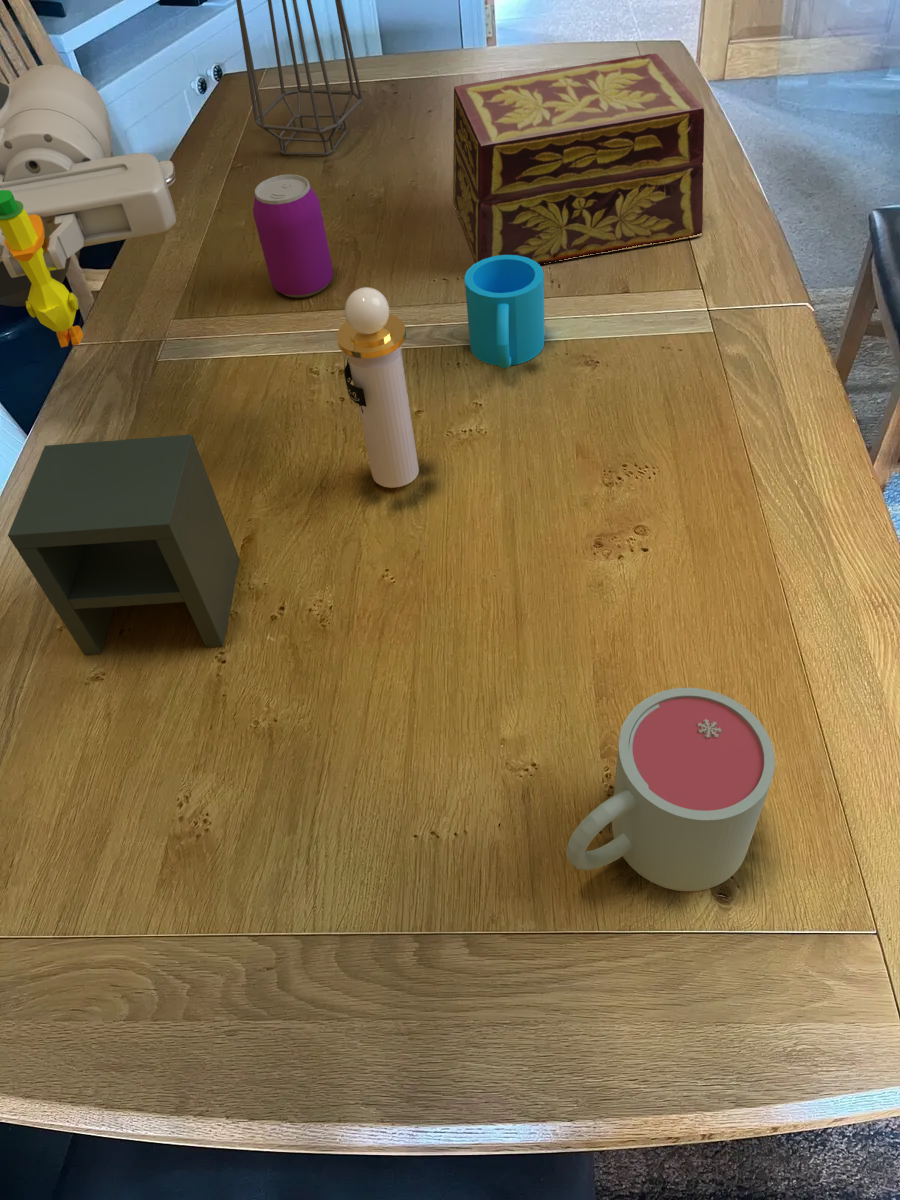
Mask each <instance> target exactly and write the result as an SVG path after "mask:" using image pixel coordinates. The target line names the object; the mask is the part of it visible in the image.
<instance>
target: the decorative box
mask: <svg viewBox="0 0 900 1200" xmlns="http://www.w3.org/2000/svg"><path fill="white" fill-rule="evenodd" d="M704 147H705V108H704V106H703V105H702V104H701V102H700V101H699V100H698V99H697V98H696V96H695V95H693V93H692V92H691V91H690V90H689V88H688V87H687V86H686V85H685V83H683V82H682V80H681V79H680V78H679V77H678V76H677V75H676V73H675V72H674V71H673V69H671V68H670V67H669V66H668V64H667V63H666V62H665V61H664V60H663V58H662V57H660V55H659V54H658V53H648V54H640V55H634V56H629V57H623V58H617V59H610V60H605V61H597V62H592V63H586V64H580V65H573V66H569V67H563V68H555V69H550V70H544V71H537V72H531V73H526V74H519V75H513V76H507V77H502V78H494V79H489V80H483V81H479V82H472V83H466V84H459V85H457V86H454V88H453V156H452V157H453V162H452V163H453V166H452V169H453V171H452V175H453V177H452V179H453V180H452V181H453V182H452V184H453V185H452V186H453V188H452V194H453V195H452V204H453V206H455V207H454V209H455V208H456V210H455V212H456V211H457V212H456V215H457V214H458V215H457V217H458V216H459V218H458V220H460V221H459V222H461V223H460V226H461V225H462V226H461V229H462V228H463V229H462V231H463V230H464V231H463V234H464V233H465V234H464V236H466V237H465V239H466V242H467V241H468V242H467V245H468V244H469V245H468V247H470V248H469V251H470V253H471V252H472V253H471V256H472V255H473V256H472V259H473V261H474V264H475V263H477V262H479V261H481V260H483V259H486V258H489V257H493V256H500V255H518V256H522V257H527V258H529V259H531V260H533V261H535V262H537V263H538V264H544V263H549V262H555V261H559V260H564V259H568V258H573V257H579V256H583V255H588V254H589V255H590V254H596V253H601V252H608V251H612V250H618V249H622V248H626V247H627V248H628V247H632V246H636V245H637V246H638V245H643V244H650V243H652V244H653V243H659V242H665V241H670V240H674V239H675V240H676V239H679V238H683V237H688V236H693V235H697V234H700V233H702V234H703V211H704V207H703V206H704V164H703V163H704V153H705V152H704V151H705V150H704V149H705V148H704ZM555 263H556V262H555ZM549 264H550V263H549ZM544 265H545V264H544Z"/></svg>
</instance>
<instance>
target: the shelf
mask: <svg viewBox="0 0 900 1200" xmlns="http://www.w3.org/2000/svg"><path fill="white" fill-rule="evenodd" d="M7 536H8V539H9V540H10V541H11V543H12V545H13V546H14V548H15V549H16V551H17V552H18V554H19V556H20V557H21V559H22V560H23V562H24V563H25V565H26V566H27V568H28V569H29V571H30V572H31V574H32V576H33V578H34V579H35V580H36V582H37V584H38V585H39V587H40V588H41V590H42V592H43V593H44V594H45V596H46V597H47V600H48V601H49V603H50V604H51V605H52V607H53V609H54V610H55V612H56V613H57V615H58V616H59V618H60V619H61V621H62V623H63V624H64V626H65V627H66V629H67V630H68V632H69V633H70V635H71V637H72V638H73V640H74V642H75V643H76V645H77V646H78V648H79V649H80V651H81V652H82V654H83V655H85V656H88V655H101V654H102V651H103V648H104V644H105V642H106V639H107V634H108V631H109V627H110V624H111V620H112V618H113V614H114V610H115V607H129V606H131V607H132V606H144V605H158V604H160V605H161V604H173V603H174V604H176V603H185V605H186V608H187V610H188V612H189V614H190V616H191V618H192V621H193V622H194V624H195V627H196V629H197V631H198V633H199V635H200V637H201V639H202V642H203V643H204V646H205V648H219V647H224V645H225V639H226V634H227V630H228V625H229V619H230V618H229V617H230V612H231V607H232V603H233V596H234V591H235V585H236V581H237V576H238V575H237V574H238V569H239V564H240V557H239V554H238V551H237V548H236V546H235V543H234V541H233V538H232V535H231V533H230V530H229V528H228V525H227V522H226V519H225V517H224V514H223V512H222V509H221V507H220V504H219V500H218V499H217V496H216V493H215V491H214V488H213V485H212V483H211V480H210V477H209V475H208V473H207V470H206V467H205V464H204V462H203V459H202V456H201V454H200V451H199V449H198V446H197V444H196V440H195V439H194V436H193V434H181V435H180V434H179V435H167V436H154V437H153V436H152V437H141V438H127V439H116V440H115V439H113V440H103V441H88V442H76V443H74V442H73V443H61V444H50V445H49V444H48V445H47V444H46V445H44V447H43V449H42V451H41V454H40V457H39V459H38V461H37V463H36V466H35V468H34V471H33V473H32V476H31V478H30V481H29V483H28V484H27V487H26V490H25V493H24V495H23V498H22V500H21V502H20V505H19V507H18V509H17V512H16V514H15V517H14V519H13V521H12V524H11V527H10V529H9V531H8V534H7Z"/></svg>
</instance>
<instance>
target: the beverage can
mask: <svg viewBox="0 0 900 1200" xmlns="http://www.w3.org/2000/svg"><path fill="white" fill-rule="evenodd" d="M252 214H253V219H254V222H255V227H256V230H257V234H258V235H257V236H258V238H259V242H260V247H261V250H262V253H263V257H264V262H265V266H266V269H267V273H268V276H269V277H268V278H269V281H270V283H271V285H272V287H273V289H274V290H275V291H277V292H278V293H280V294H282V295H284V296H286V297H289V298H295V299H296V298H297V299H298V298H300V299H301V298H308V297H311V296H315V295H317V294H318V293H321V292H323V291H324V289H325V288H327V287H328V285H329V284H330V283H331V281H332V280H333V277H334V269H333V263H332V257H331V253H330V248H329V243H328V238H327V233H326V228H325V222H324V217H323V213H322V208H321V203H320V198H319V197H318V195H317V194H316V192H315V190H314V189H313V187H312V186H311V183H310V182H309V180H308V179H307V178H306V177H304V176H302V175H299V174H280V175H276V176H272V177H269V178H267V179H264V180H263V181H261V182H260V183H258V184H257V186H256V187H255V188H254V200H253V209H252Z"/></svg>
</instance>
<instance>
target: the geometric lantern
mask: <svg viewBox="0 0 900 1200" xmlns="http://www.w3.org/2000/svg"><path fill="white" fill-rule="evenodd" d="M272 1H273V0H267V6H268V12H269V20H270V24H271V31H272V32H271V33H272V39H273V44H274V53H275V58H276V65H277V72H278V78H279V79H278V80H279V87H280V95H278V96H277V97H276V98H275V99H274V100H273V101H272V103H269V105H268V106H267V107H266V109H264V110H263V107H262V102H261V96H260V92H259V87H258V80H257V76H256V71H255V67H254V65H255V64H254V60H253V55H252V51H251V50H252V49H251V45H250V39H249V34H248V30H247V24H246V19H245V13H244V8H243V4H242V0H235V3H236V7H237V14H238V15H237V16H238V19H239V20H238V22H239V27H240V28H239V29H240V33H241V34H240V35H241V41H242V48H243V54H244V61H245V67H246V72H247V81H248V87H249V93H250V101H251V106H252V112H253V113H252V114H253V119H254V124H255V125H256V126H258V127H259V128H260V129H262V130H264V131H265V132H267V133H268V134H270V135H271V136H273V137H275V138H276V139H277V140H278V143H279V149H280V150H279V153H280V154H282V155H284V156H328V155H330V154H332V153H333V152H334V151H335V150H336V149H337V148H338V146H339V144H340V142H341V141H342V140H343V138H344V136H345V135H346V134H347V132H348V129H347V123H346V120H347V119H348V117H349V116H350V115H351V114H352V113H353V112H354V111H355V110H356V109H357V108H358V107H359V106H360V105H361V104H362V103H363V101H364V97H363V93H362V89H361V82H360V78H359V73H358V69H357V64H356V61H355V55H354V51H353V47H352V41H351V37H350V33H349V29H348V28H349V27H348V25H347V19H346V15H345V11H344V5H343V1H342V0H334V2H335V8H336V14H337V19H338V24H339V25H338V26H339V31H340V36H341V42H342V47H343V53H344V54H343V55H344V59H345V65H346V72H347V76H348V81H349V82H348V83H349V87H350V89H349V90H340V89H339V90H337V89H331V86H330V82H329V77H328V73H327V68H326V64H325V58H324V55H323V50H322V45H321V41H320V36H319V32H318V28H317V23H316V18H315V14H314V9H313V5H312V0H306V4H307V9H308V13H309V17H310V23H311V27H312V31H313V36H314V41H315V44H316V49H317V53H318V59H319V62H320V67H321V71H322V76H323V81H324V85H325V89H318V88H314V87H313V81H312V75H311V70H310V69H311V68H310V65H309V60H308V59H309V58H308V53H307V49H306V43H305V37H304V33H303V27H302V22H301V16H300V13H299V6H298V3H297V0H292V6H293V11H294V16H295V21H296V25H297V26H296V28H297V31H298V37H299V43H300V48H301V52H302V53H301V54H302V59H303V63H304V68H305V69H304V70H305V74H306V79H307V85H308V88H302V85H301V79H300V74H299V69H298V63H297V57H296V51H295V45H294V40H293V33H292V28H291V23H290V17H289V11H288V6H287V1H286V0H281V4H282V10H283V15H284V20H285V27H286V32H287V37H288V42H289V49H290V54H291V59H292V64H293V71H294V75H295V81H296V87H297V88H295V89H290V90H285V84H284V76H283V70H282V69H283V68H282V62H281V55H280V48H279V42H278V36H277V35H278V34H277V30H276V22H275V16H274V15H275V14H274V9H273V2H272ZM351 67H352V68H351ZM353 76H354V80H353ZM354 81H355V85H356V90H357V91H355V85H354ZM301 93H302V94H304V93H305V94H310V100H311V105H312V111H313V114H304V113H303V114H302V109H301V107H302V106H301ZM295 94H296V95H297V96H296V97H297V109H298V111H297V112H298V114H295V112H294V111H293V109H292V107H291V105H290V103H289V102H288V100H287V98H286V96H291V95H295ZM315 94H324V95H327V98H328V99H327V100H328V104H329V107H330V111H331V114H319V112H318V107H317V101H316V96H315ZM333 95H343V96H348V97H347V100H346V102H345V104H344V107H343V109H342V111H341V113H340V114H337V113H336V109H335V105H334V104H335V103H334V100H333ZM353 96H354V97H355V98H356V99H357V100H356V101H355V103H354V104H353V105H351V107H350V108H349V109H348V110H347V108H348V106H349V103H350V102H351V99H352V97H353ZM282 100H283V101H284V103H285V105H286V107H287V109H288V110H289V112H290V114H291V116H292V117H291V119H290V120H289V121H288V123H287V124H286V125H274V124H266V122H265V119H264V118H265V116H267V115H268V113H269V112H271V110H272V109H273V108H274V107H275V106H276V105H278V103H279V102H280V101H282ZM258 114H259V116H258ZM303 118H314V120H315V126H304V123H303V122H304V121H303ZM320 118H332V120H333V124H331V125H328V126H321V123H320ZM338 118H339V119H338ZM296 119H299V124H300V127H298V126H297V121H296ZM292 123H293V125H294V126H291V125H292ZM273 130H276V131H281V132H280V134H279V135H278V134H277V133H275V132H274V131H273ZM330 131H331V132H330ZM337 131H343V132H342V133H341V135H340V136H339V138H338V139H337V140H336V142H335V144H334V142H333V137H334V136H335V134H336V133H337ZM286 132H292V133H291V135H290V136H289V137H283V136H284V134H285V133H286ZM328 132H330V134H329V136H328V137H327V138H325V136H324V135H323V134H326V133H328ZM297 133H306V134H315V135H319V137H320V138H318V139H317V138H298V137H295V135H296V134H297ZM290 142H306V143H307V142H308V143H309V142H310V143H322V145H323V149H324V152H323V151H322V152H316V151H315V152H311V151H310V152H309V151H307V152H304V151H303V152H302V151H299V152H297V151H296V152H295V151H294V152H293V151H292V152H291V151H287V146H288V145H289V144H290ZM327 142H329V145H330V149H329V150H328V148H327Z"/></svg>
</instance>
